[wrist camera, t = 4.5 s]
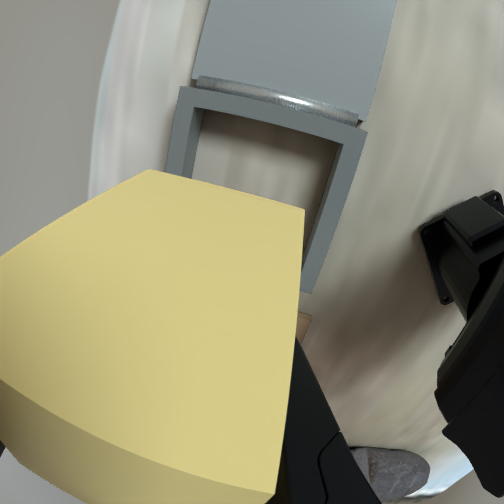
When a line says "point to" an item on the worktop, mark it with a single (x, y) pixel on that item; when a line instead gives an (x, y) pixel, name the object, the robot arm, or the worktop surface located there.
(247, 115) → the hinged window frame
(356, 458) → the perforated stone tool
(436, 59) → the worktop surface
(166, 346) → the block
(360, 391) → the worktop surface
